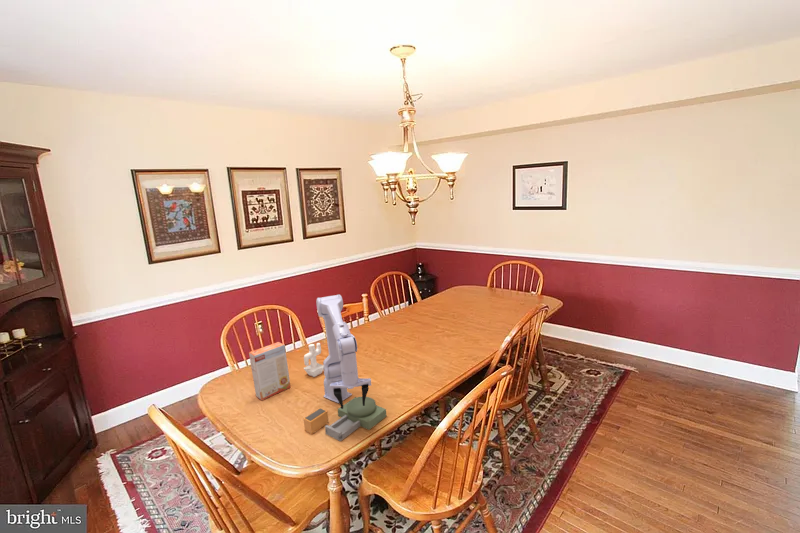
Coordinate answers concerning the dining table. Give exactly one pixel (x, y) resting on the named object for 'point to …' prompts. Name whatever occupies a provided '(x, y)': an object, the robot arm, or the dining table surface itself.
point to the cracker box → (269, 370)
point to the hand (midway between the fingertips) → (353, 405)
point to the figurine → (313, 360)
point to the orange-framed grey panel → (315, 420)
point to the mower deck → (355, 417)
